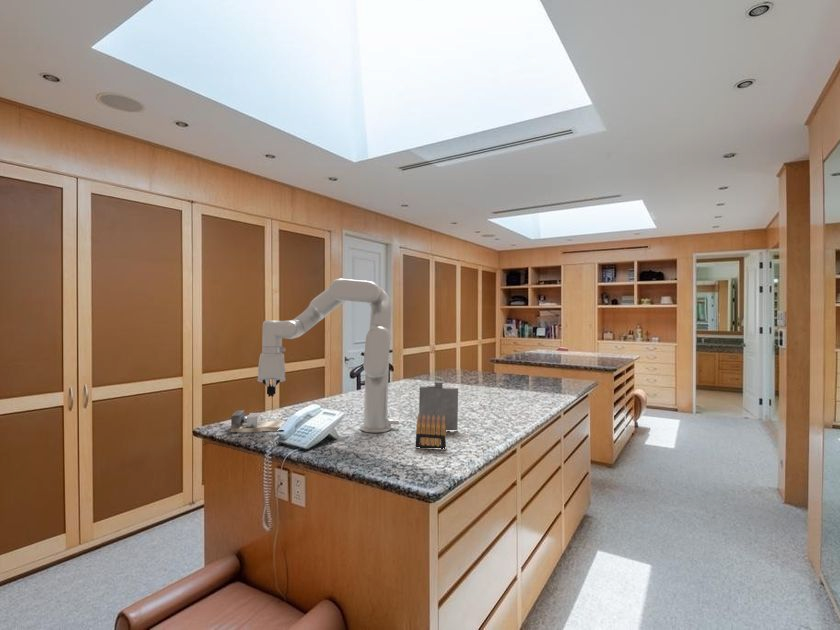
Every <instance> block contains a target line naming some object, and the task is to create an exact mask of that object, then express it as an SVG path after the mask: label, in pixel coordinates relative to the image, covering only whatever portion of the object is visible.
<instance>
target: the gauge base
mask: <svg viewBox="0 0 840 630" xmlns="http://www.w3.org/2000/svg"><path fill="white" fill-rule="evenodd" d="M242 417H245V410H236V411H235V412H233V413H232V415H231V416H230V420H231V421H230V433H231V432H237V433H263V432H262V431H271V432H278V431H277V430H278V429H279V428H280V426H281V425H282V424H283V423H284V422H285V421H286V420H284V421H282V420H281V421H260V424H259V425H258V427H252V428H250V427H247V423H241V418H242Z"/></svg>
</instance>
